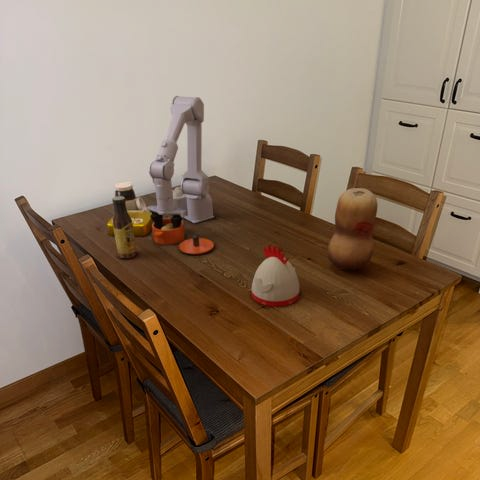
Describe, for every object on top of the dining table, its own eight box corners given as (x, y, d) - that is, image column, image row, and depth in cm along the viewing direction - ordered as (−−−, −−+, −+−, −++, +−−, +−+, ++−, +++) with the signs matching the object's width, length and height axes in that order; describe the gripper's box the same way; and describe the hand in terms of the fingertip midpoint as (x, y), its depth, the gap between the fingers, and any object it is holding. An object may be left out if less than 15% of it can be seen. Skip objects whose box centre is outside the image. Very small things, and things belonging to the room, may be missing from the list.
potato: (168, 232, 175) (166, 220, 172) (179, 233, 173) (177, 222, 171) (158, 240, 169) (156, 228, 167) (170, 241, 168) (168, 229, 165)
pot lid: (219, 243, 167) (218, 231, 164) (204, 258, 157) (203, 245, 155) (189, 238, 171) (188, 227, 168) (172, 252, 161) (171, 240, 159)
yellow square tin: (157, 220, 185) (155, 208, 183) (147, 236, 173) (145, 224, 170) (120, 220, 187) (118, 208, 184) (107, 235, 174) (105, 223, 172)
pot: (193, 231, 176) (192, 217, 173) (171, 249, 163) (169, 235, 160) (167, 227, 180) (165, 213, 177) (143, 245, 167) (141, 230, 164)
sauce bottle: (132, 260, 158) (123, 202, 146) (115, 258, 159) (104, 201, 147) (140, 251, 163) (131, 195, 152) (123, 250, 164) (113, 194, 153)
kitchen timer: (270, 277, 146) (271, 232, 137) (308, 291, 138) (311, 244, 130) (241, 296, 137) (240, 248, 128) (280, 311, 129) (282, 262, 121)
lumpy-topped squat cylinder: (165, 209, 195) (162, 188, 190) (192, 202, 201) (191, 182, 196) (176, 217, 188) (174, 196, 183) (204, 210, 193) (203, 189, 189)
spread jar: (115, 210, 195) (110, 182, 189) (142, 205, 199) (138, 178, 193) (122, 220, 186) (117, 191, 180) (150, 215, 190) (146, 186, 184)
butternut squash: (337, 281, 143) (346, 201, 128) (319, 262, 153) (325, 186, 139) (379, 274, 145) (391, 195, 131) (358, 256, 156) (368, 181, 142)
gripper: (140, 198, 162) (145, 234, 170) (177, 203, 157) (181, 240, 165) (151, 191, 168) (155, 227, 175) (187, 196, 163) (190, 232, 170)
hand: (168, 233), depth 171 cm, fingers open, 6 cm apart
